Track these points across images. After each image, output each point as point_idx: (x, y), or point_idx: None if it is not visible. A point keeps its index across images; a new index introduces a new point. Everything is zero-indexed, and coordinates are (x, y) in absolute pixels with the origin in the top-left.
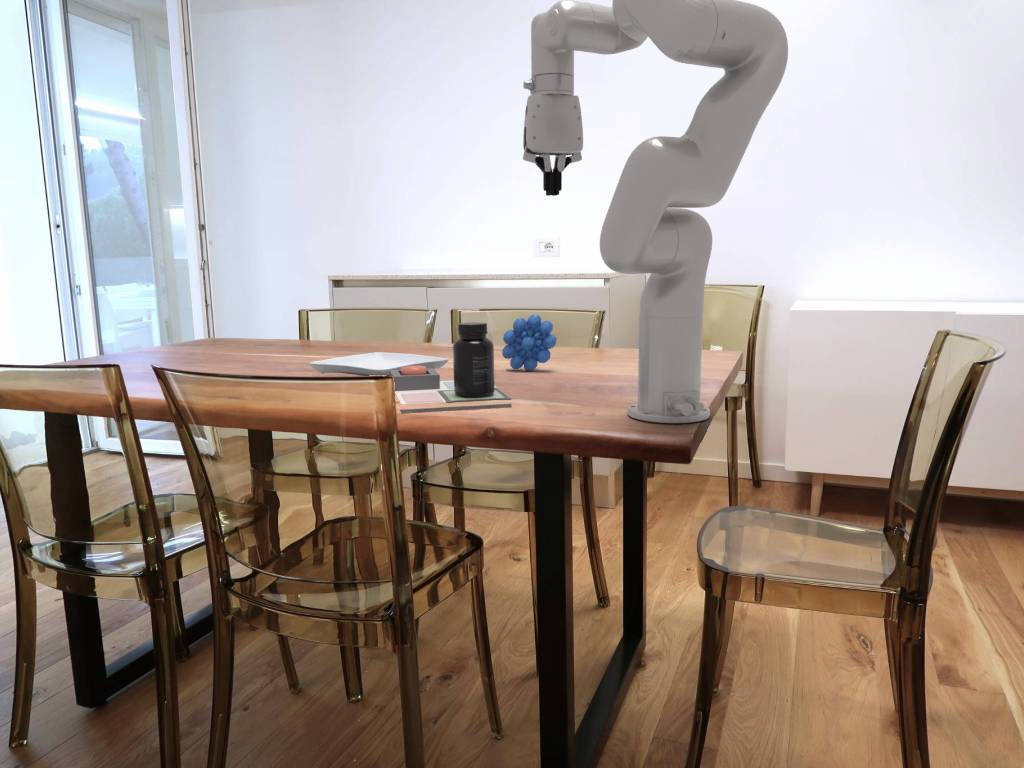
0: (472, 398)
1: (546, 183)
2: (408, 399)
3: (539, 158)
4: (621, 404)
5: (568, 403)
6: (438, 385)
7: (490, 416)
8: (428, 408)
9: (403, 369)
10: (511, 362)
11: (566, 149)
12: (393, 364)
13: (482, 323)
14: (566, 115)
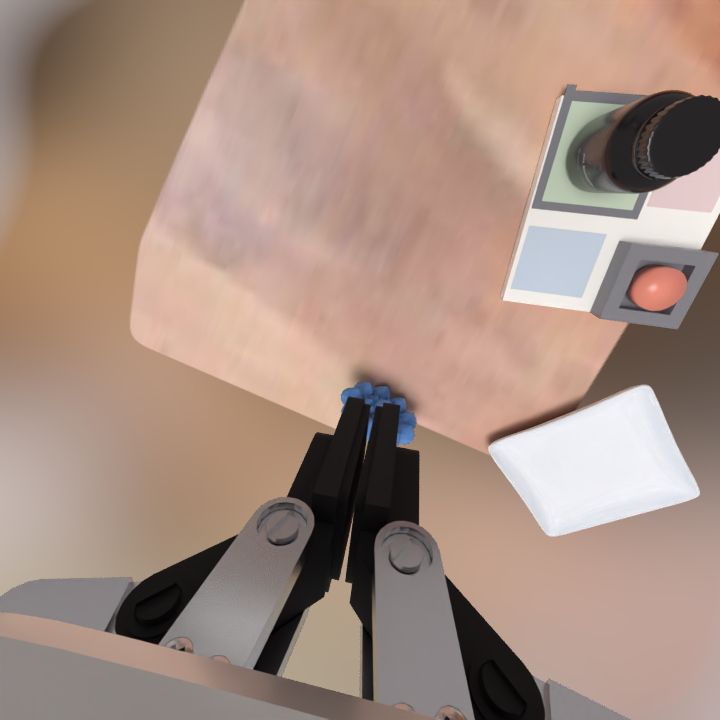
0: None
1: (413, 472)
2: None
3: (509, 702)
4: (375, 56)
5: (451, 102)
6: (624, 241)
7: (634, 23)
8: None
9: (686, 282)
10: (406, 406)
11: (93, 699)
12: (544, 492)
13: (669, 121)
14: None
